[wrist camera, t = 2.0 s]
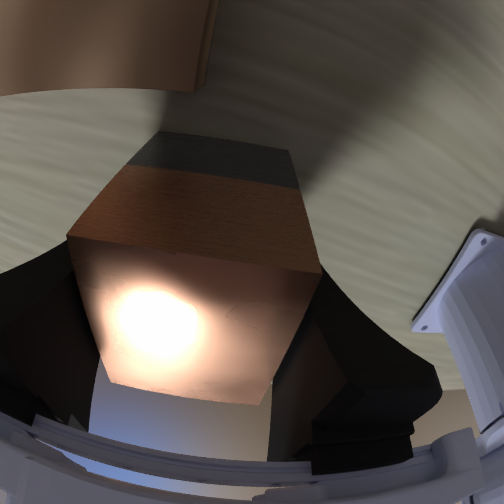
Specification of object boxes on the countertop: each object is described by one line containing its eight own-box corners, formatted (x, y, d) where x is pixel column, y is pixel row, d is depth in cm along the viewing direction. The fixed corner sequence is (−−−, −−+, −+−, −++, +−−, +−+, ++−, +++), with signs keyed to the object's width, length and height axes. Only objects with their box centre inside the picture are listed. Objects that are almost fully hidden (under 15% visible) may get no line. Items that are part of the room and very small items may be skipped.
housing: (288, 150, 11) (322, 273, 6) (257, 268, 15) (258, 405, 9) (159, 130, 11) (66, 234, 5) (155, 253, 14) (111, 382, 9)
